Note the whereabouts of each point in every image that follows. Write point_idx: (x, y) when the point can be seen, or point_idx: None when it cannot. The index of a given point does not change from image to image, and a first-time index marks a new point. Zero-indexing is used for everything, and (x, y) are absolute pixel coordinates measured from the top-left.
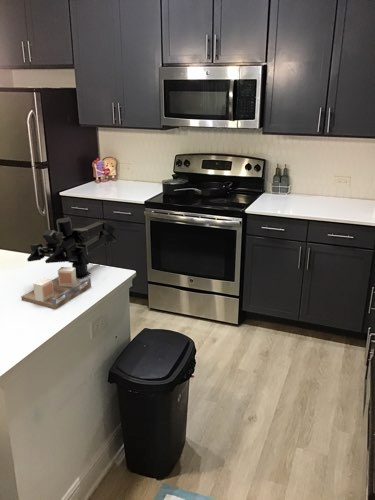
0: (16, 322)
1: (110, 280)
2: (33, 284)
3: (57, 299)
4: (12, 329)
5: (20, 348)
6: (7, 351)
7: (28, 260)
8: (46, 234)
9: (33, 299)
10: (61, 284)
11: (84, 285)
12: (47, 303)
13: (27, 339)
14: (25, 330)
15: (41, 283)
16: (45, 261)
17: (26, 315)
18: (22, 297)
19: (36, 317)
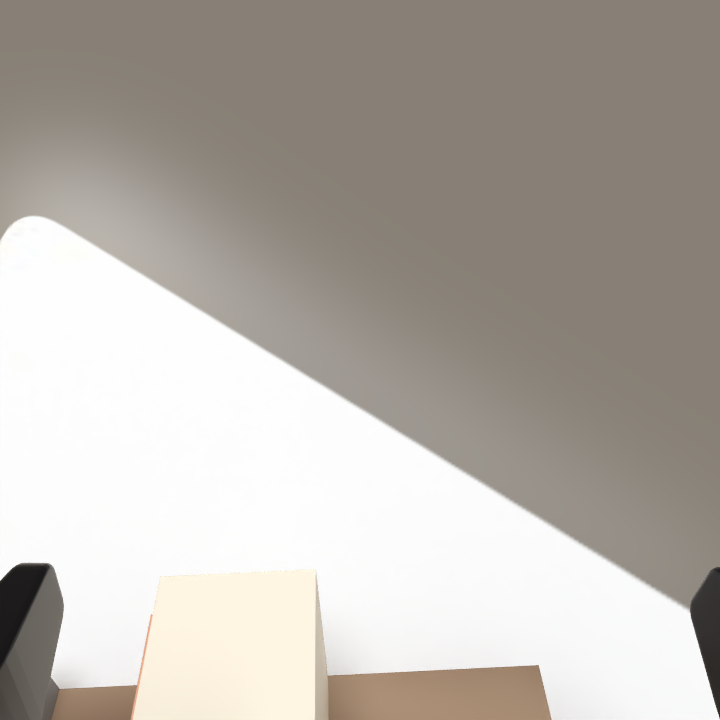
0: (244, 414)
1: None
2: (313, 578)
3: None
4: (206, 360)
5: (38, 285)
6: (90, 255)
7: (699, 596)
8: None
9: (355, 681)
10: None
11: None
12: (136, 686)
13: (45, 337)
14: (116, 383)
15: (200, 628)
16: (42, 568)
17: (247, 505)
18: (518, 669)
19: (145, 519)
